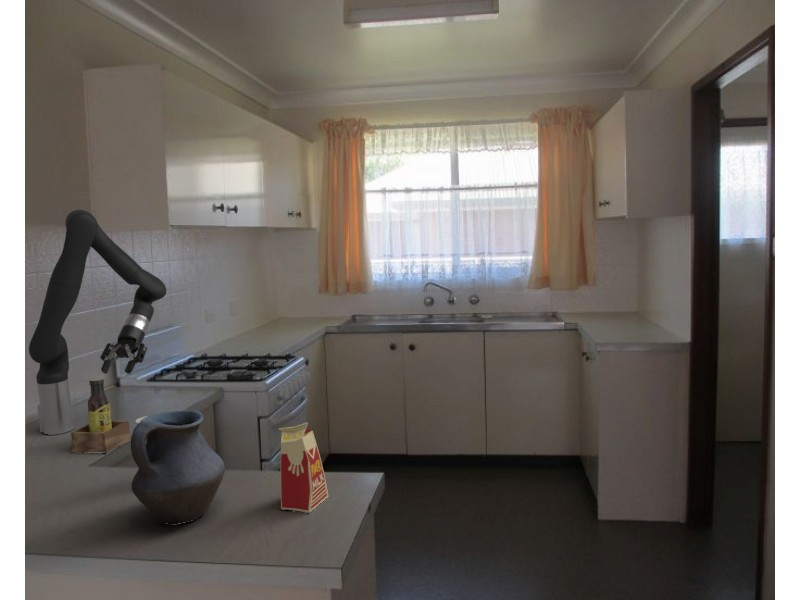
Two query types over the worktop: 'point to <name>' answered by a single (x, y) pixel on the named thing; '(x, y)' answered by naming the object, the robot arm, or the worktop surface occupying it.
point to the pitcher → (174, 466)
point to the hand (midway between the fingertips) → (115, 372)
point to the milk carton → (301, 470)
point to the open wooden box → (100, 438)
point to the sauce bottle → (98, 407)
